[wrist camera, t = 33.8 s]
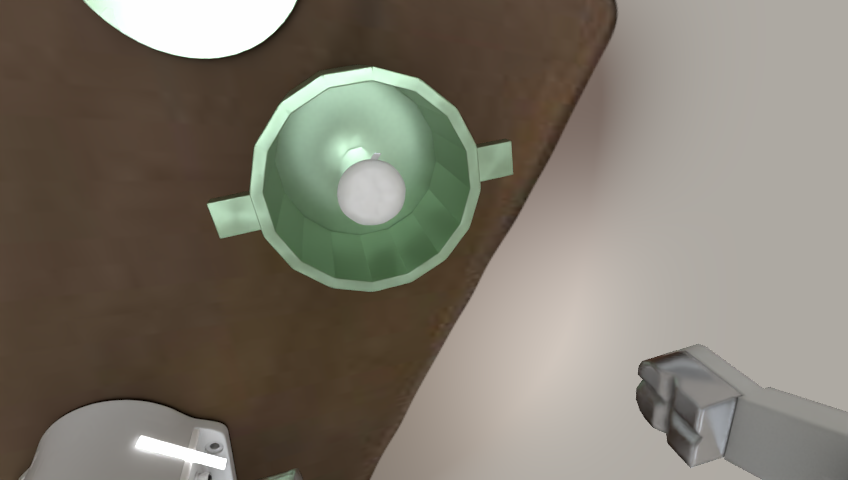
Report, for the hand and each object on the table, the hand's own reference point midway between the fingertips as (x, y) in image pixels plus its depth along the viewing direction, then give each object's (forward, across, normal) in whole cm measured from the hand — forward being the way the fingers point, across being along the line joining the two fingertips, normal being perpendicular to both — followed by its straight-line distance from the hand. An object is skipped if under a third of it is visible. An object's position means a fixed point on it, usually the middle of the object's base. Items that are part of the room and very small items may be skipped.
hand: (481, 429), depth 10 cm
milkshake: (+29, 0, 0) cm, 29 cm away
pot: (+29, 0, 0) cm, 29 cm away
